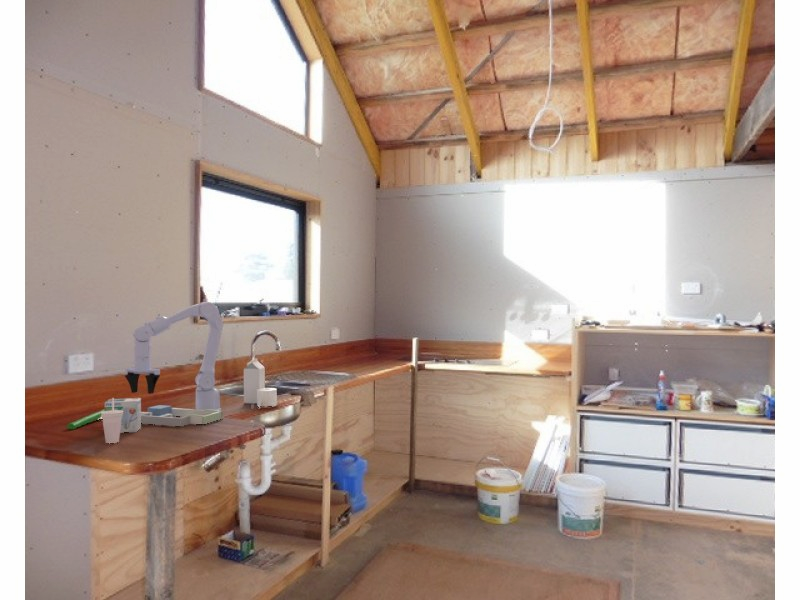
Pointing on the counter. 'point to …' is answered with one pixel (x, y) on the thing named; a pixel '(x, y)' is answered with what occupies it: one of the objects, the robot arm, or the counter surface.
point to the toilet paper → (267, 397)
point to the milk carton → (253, 380)
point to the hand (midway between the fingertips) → (142, 392)
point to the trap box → (182, 417)
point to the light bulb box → (127, 413)
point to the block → (160, 410)
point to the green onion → (85, 420)
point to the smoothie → (112, 424)
